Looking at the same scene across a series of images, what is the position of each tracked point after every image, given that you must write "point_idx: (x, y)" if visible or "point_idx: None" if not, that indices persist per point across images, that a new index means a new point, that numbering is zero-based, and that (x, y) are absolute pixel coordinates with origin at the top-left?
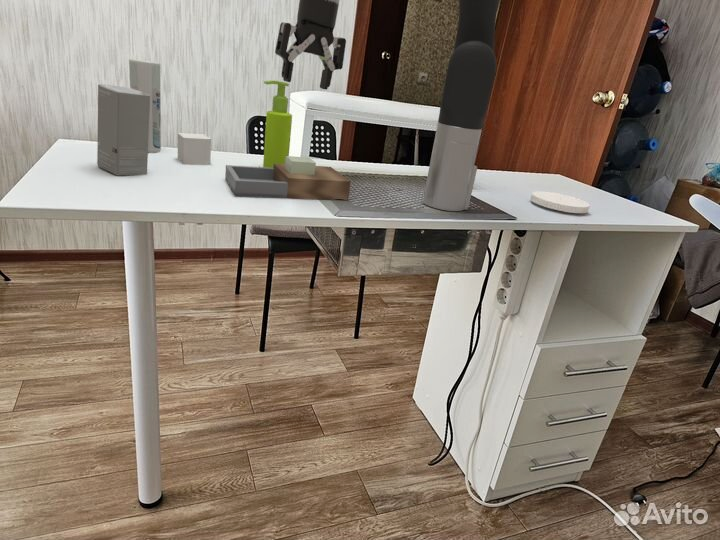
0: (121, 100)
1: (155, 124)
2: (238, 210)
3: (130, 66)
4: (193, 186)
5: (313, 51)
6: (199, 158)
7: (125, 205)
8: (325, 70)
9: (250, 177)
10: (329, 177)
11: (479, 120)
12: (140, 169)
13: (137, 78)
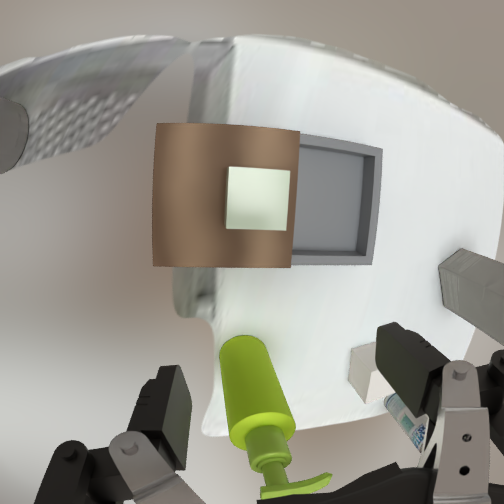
0: None
1: None
2: (373, 85)
3: None
4: (407, 207)
5: (341, 498)
6: (371, 349)
7: (461, 129)
8: (173, 448)
9: (326, 250)
10: (196, 150)
11: None
12: (448, 262)
13: None
